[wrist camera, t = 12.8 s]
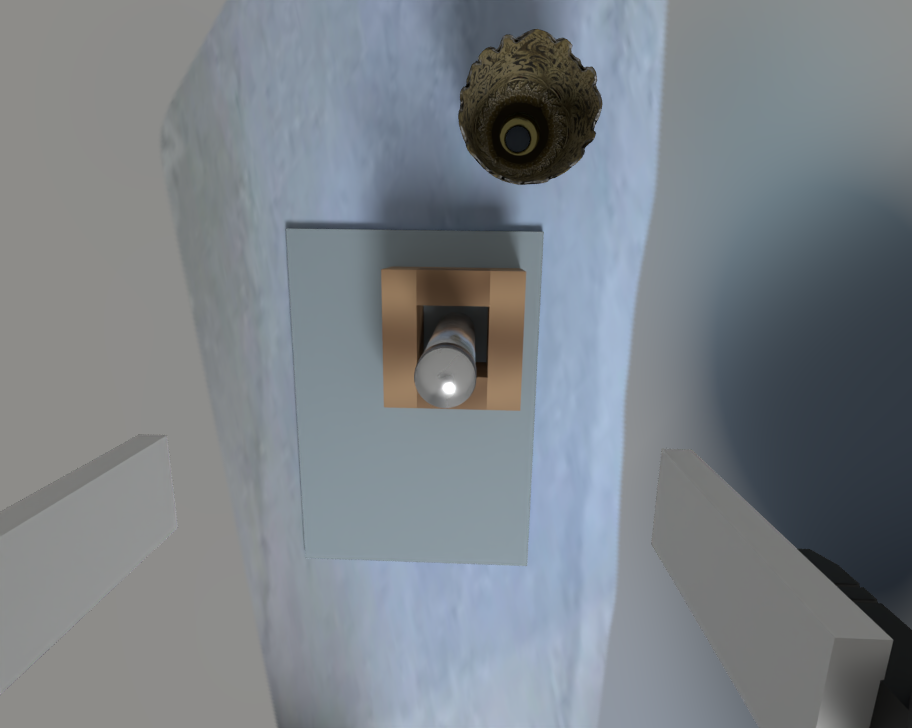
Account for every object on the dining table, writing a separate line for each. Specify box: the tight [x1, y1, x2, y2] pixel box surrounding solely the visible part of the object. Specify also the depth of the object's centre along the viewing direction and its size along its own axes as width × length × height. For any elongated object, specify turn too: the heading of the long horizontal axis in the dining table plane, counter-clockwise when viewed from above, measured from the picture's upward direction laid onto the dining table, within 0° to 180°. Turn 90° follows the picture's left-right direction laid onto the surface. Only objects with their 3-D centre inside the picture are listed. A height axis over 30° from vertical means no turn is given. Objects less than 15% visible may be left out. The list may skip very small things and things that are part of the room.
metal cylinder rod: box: [414, 312, 477, 408], centre depth 30 cm, size 3×3×14 cm
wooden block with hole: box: [381, 266, 526, 411], centre depth 35 cm, size 9×9×4 cm
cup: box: [458, 29, 602, 185], centre depth 31 cm, size 8×7×8 cm
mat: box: [286, 229, 544, 566], centre depth 39 cm, size 26×18×1 cm
